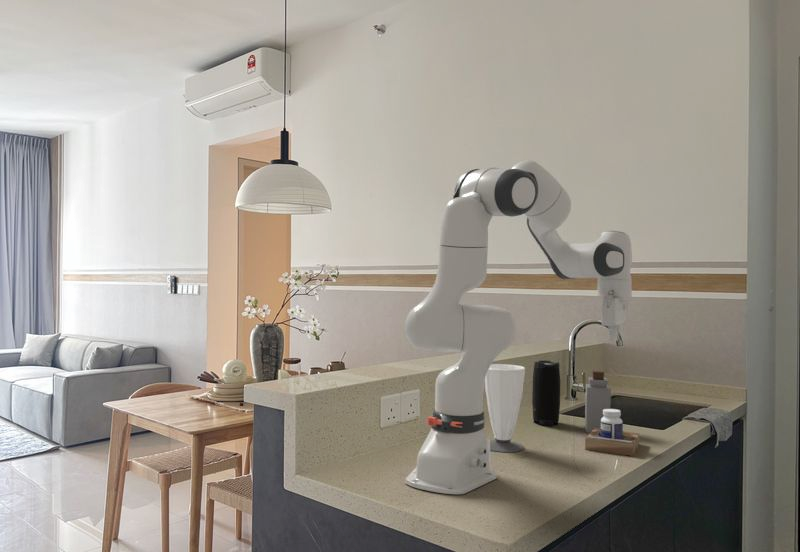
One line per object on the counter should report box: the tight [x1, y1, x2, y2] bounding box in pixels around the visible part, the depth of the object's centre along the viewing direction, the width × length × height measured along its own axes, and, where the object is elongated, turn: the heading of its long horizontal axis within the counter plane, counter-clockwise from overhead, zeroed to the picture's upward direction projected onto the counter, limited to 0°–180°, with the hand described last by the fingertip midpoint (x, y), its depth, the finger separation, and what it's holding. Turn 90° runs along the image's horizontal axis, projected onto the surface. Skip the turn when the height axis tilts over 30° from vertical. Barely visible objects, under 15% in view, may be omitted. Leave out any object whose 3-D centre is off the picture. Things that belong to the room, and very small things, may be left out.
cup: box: [484, 363, 526, 454], centre depth 163 cm, size 12×12×22 cm
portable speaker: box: [531, 359, 561, 427], centre depth 191 cm, size 9×9×20 cm
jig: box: [584, 428, 640, 457], centre depth 165 cm, size 14×12×3 cm
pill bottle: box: [601, 408, 624, 439], centre depth 165 cm, size 6×6×10 cm
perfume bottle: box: [584, 370, 612, 434], centre depth 183 cm, size 7×7×18 cm
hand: (613, 341), depth 165 cm, fingers closed
